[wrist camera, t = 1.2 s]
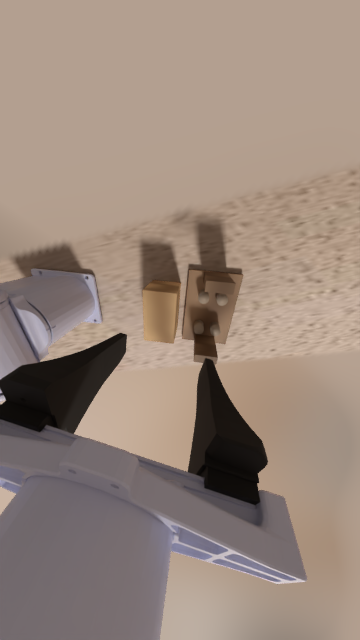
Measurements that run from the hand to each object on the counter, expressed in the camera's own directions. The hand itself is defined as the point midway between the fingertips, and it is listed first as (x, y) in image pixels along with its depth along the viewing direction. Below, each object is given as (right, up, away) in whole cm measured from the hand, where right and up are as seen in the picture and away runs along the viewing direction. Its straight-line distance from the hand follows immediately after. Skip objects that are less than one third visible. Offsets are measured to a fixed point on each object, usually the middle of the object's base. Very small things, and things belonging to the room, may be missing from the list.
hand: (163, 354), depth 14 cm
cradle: (+6, +5, +10) cm, 12 cm away
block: (-1, +5, +10) cm, 12 cm away
